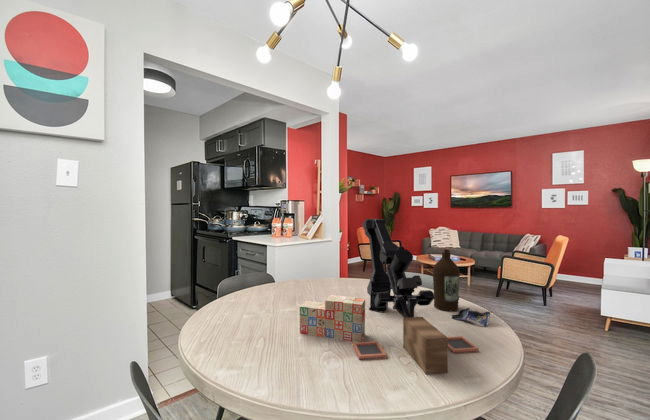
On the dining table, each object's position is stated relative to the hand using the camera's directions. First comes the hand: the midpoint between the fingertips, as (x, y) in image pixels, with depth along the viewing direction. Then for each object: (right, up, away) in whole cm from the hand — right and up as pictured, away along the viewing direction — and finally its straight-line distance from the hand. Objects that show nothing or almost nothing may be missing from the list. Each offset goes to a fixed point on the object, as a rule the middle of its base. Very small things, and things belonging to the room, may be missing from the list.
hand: (412, 324), depth 86 cm
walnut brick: (+1, -7, -7) cm, 10 cm away
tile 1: (-14, -7, -3) cm, 16 cm away
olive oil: (+25, -7, +34) cm, 43 cm away
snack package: (+28, -7, +20) cm, 35 cm away
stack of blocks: (-24, -7, +9) cm, 27 cm away
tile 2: (+14, -7, 0) cm, 16 cm away
